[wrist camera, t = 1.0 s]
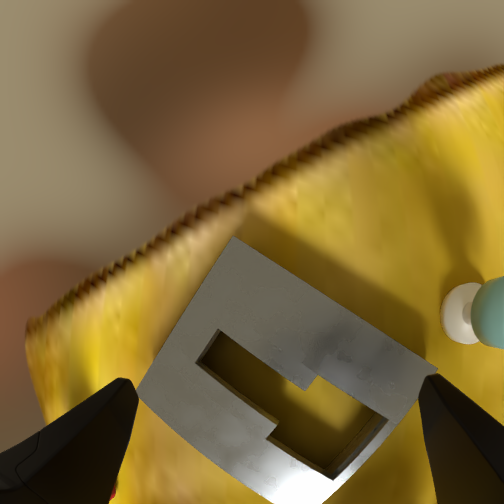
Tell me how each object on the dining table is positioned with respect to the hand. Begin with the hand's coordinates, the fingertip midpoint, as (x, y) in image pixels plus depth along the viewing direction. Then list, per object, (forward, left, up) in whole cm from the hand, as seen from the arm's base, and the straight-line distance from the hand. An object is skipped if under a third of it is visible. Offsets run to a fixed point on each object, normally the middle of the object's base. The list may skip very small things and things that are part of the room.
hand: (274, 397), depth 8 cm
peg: (-10, -8, -16) cm, 21 cm away
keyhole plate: (0, +5, -16) cm, 17 cm away
